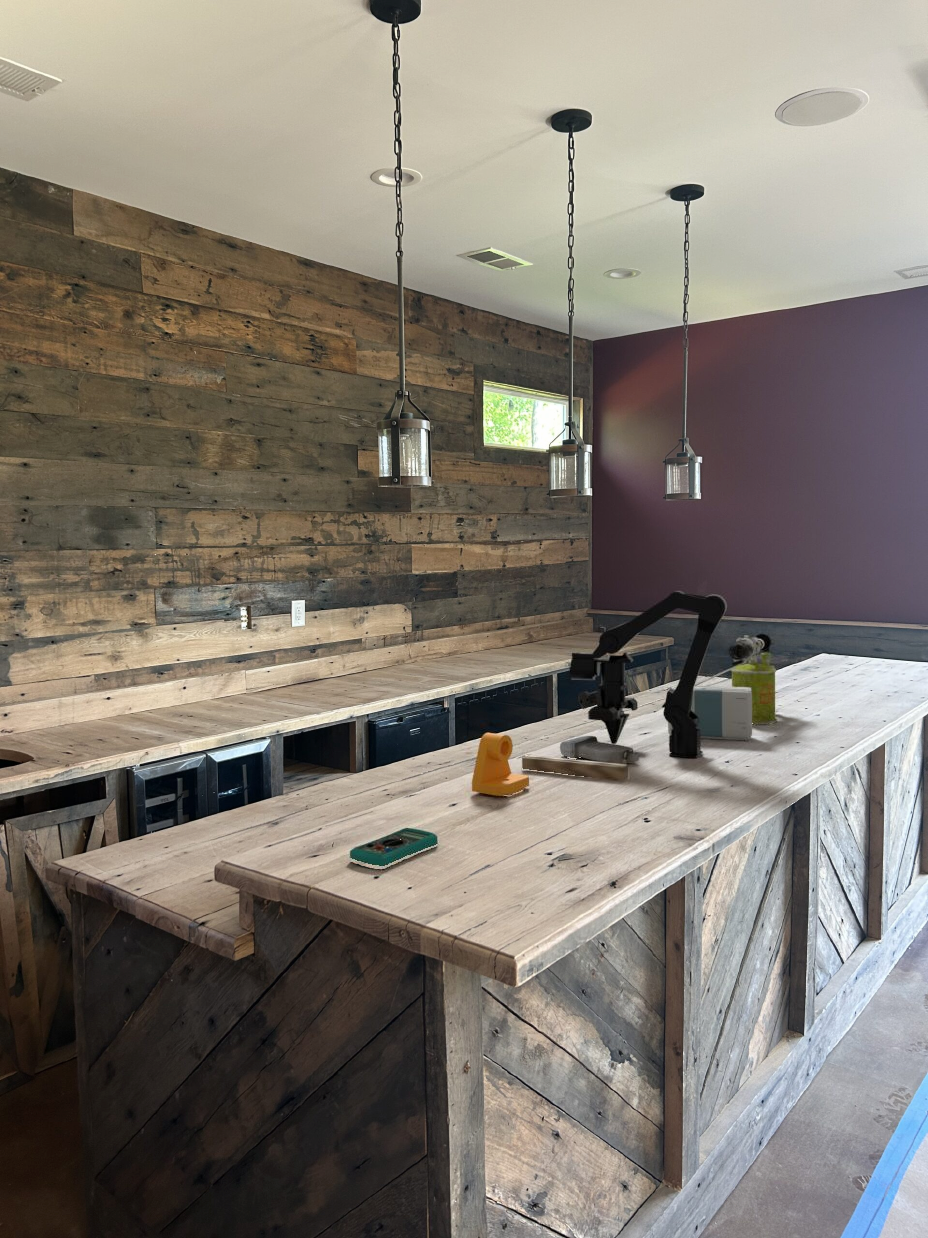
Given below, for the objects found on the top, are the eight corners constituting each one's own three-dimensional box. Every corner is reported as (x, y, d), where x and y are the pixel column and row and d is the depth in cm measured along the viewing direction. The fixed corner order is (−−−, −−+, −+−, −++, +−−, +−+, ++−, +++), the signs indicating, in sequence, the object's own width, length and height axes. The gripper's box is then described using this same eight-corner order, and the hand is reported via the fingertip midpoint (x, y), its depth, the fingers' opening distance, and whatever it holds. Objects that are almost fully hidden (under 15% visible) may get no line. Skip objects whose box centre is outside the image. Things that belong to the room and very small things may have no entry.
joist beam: (628, 778, 196) (628, 763, 196) (623, 781, 194) (623, 766, 194) (528, 768, 208) (527, 754, 208) (522, 770, 206) (522, 756, 205)
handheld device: (627, 770, 205) (626, 750, 205) (556, 759, 219) (555, 740, 218) (649, 762, 212) (649, 742, 212) (579, 752, 226) (579, 733, 225)
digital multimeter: (346, 865, 146) (346, 848, 146) (406, 841, 158) (406, 825, 158) (380, 874, 142) (379, 856, 141) (439, 849, 154) (439, 832, 153)
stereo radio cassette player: (667, 738, 238) (666, 662, 236) (672, 732, 245) (671, 659, 244) (751, 743, 230) (750, 664, 228) (753, 736, 237) (753, 660, 236)
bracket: (500, 800, 182) (499, 741, 181) (472, 795, 186) (470, 737, 185) (531, 788, 190) (530, 732, 189) (503, 784, 195) (502, 728, 194)
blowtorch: (790, 713, 270) (790, 629, 268) (761, 732, 242) (761, 639, 240) (745, 710, 277) (745, 628, 275) (712, 728, 249) (712, 637, 247)
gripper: (596, 674, 234) (597, 734, 235) (567, 684, 218) (568, 748, 219) (637, 676, 229) (638, 737, 230) (611, 686, 212) (612, 752, 213)
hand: (614, 743), depth 223 cm, fingers closed
